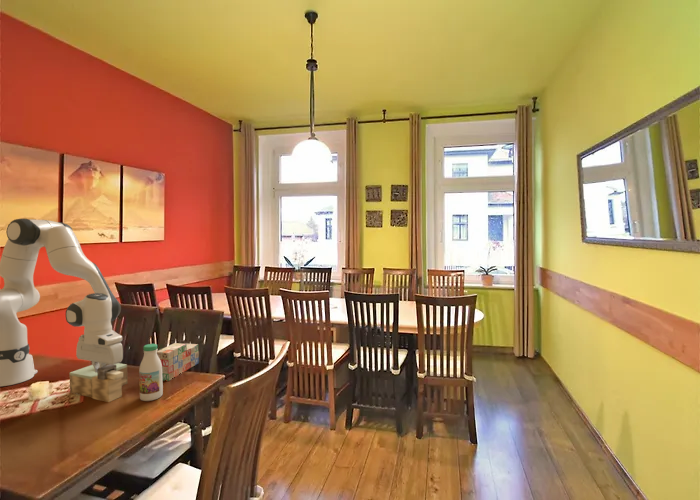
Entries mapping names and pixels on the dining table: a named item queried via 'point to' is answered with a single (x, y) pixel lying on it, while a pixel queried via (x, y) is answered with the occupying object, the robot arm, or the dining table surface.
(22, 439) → the dining table surface
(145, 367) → the milk bottle
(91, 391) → the wooden cabinet
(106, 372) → the wooden block
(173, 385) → the dining table surface
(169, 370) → the stack of blocks
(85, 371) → the lid
